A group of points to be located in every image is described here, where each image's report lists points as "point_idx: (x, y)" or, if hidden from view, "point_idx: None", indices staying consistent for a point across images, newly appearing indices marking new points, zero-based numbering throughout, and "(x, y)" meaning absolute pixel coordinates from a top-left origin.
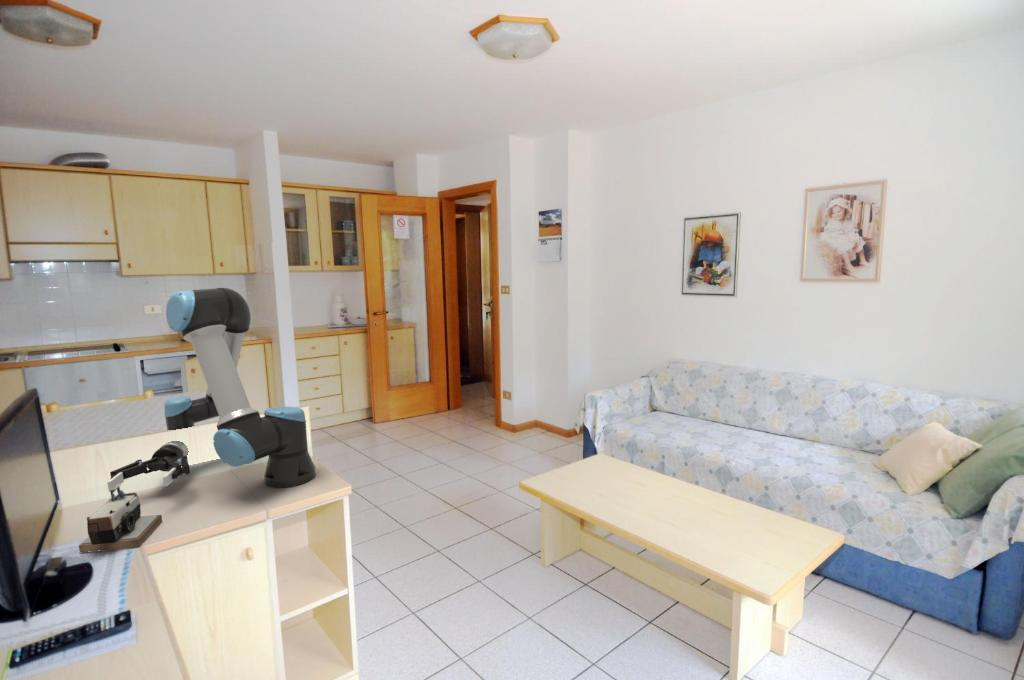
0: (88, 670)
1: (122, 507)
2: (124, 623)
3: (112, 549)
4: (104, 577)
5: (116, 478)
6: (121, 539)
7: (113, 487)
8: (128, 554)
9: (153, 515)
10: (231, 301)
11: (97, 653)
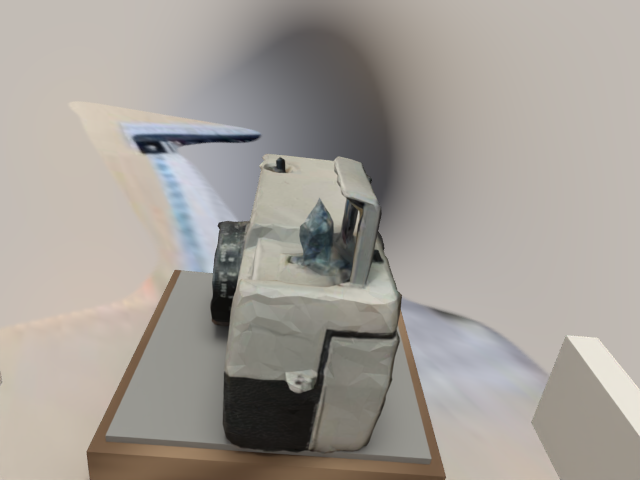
0: (172, 116)
1: (255, 198)
2: (145, 141)
3: None
4: (232, 217)
5: (637, 459)
6: None
7: (557, 438)
8: None
9: (138, 433)
10: None
11: (170, 124)
